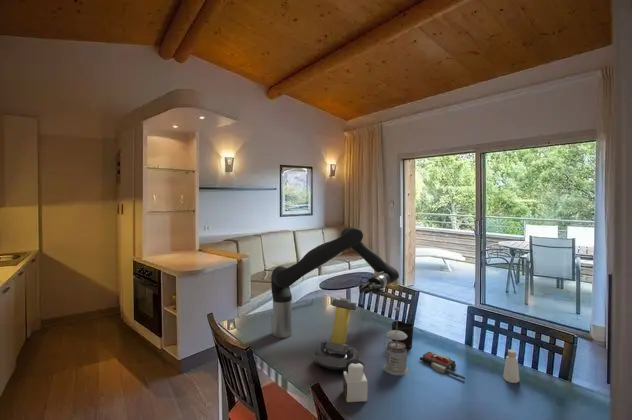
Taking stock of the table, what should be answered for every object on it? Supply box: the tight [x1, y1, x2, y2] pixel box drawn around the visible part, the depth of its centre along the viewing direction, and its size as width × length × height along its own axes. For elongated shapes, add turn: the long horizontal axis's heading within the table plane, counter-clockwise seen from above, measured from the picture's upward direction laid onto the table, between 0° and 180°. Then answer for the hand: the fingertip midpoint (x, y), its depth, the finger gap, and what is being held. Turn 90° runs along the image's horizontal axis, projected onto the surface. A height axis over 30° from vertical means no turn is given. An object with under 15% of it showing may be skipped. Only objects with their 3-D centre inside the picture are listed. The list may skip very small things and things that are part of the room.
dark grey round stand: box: [314, 339, 360, 375], centre depth 144 cm, size 18×18×8 cm
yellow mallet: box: [325, 297, 357, 355], centre depth 146 cm, size 10×6×22 cm, turn 58°
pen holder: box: [391, 320, 414, 351], centre depth 161 cm, size 9×9×10 cm
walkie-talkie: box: [419, 351, 466, 380], centre depth 141 cm, size 9×4×20 cm
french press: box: [383, 306, 410, 376], centre depth 141 cm, size 10×12×25 cm
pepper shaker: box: [502, 349, 520, 384], centre depth 133 cm, size 5×5×11 cm
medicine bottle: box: [342, 359, 368, 403], centre depth 122 cm, size 7×7×12 cm
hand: (362, 291), depth 164 cm, fingers closed
